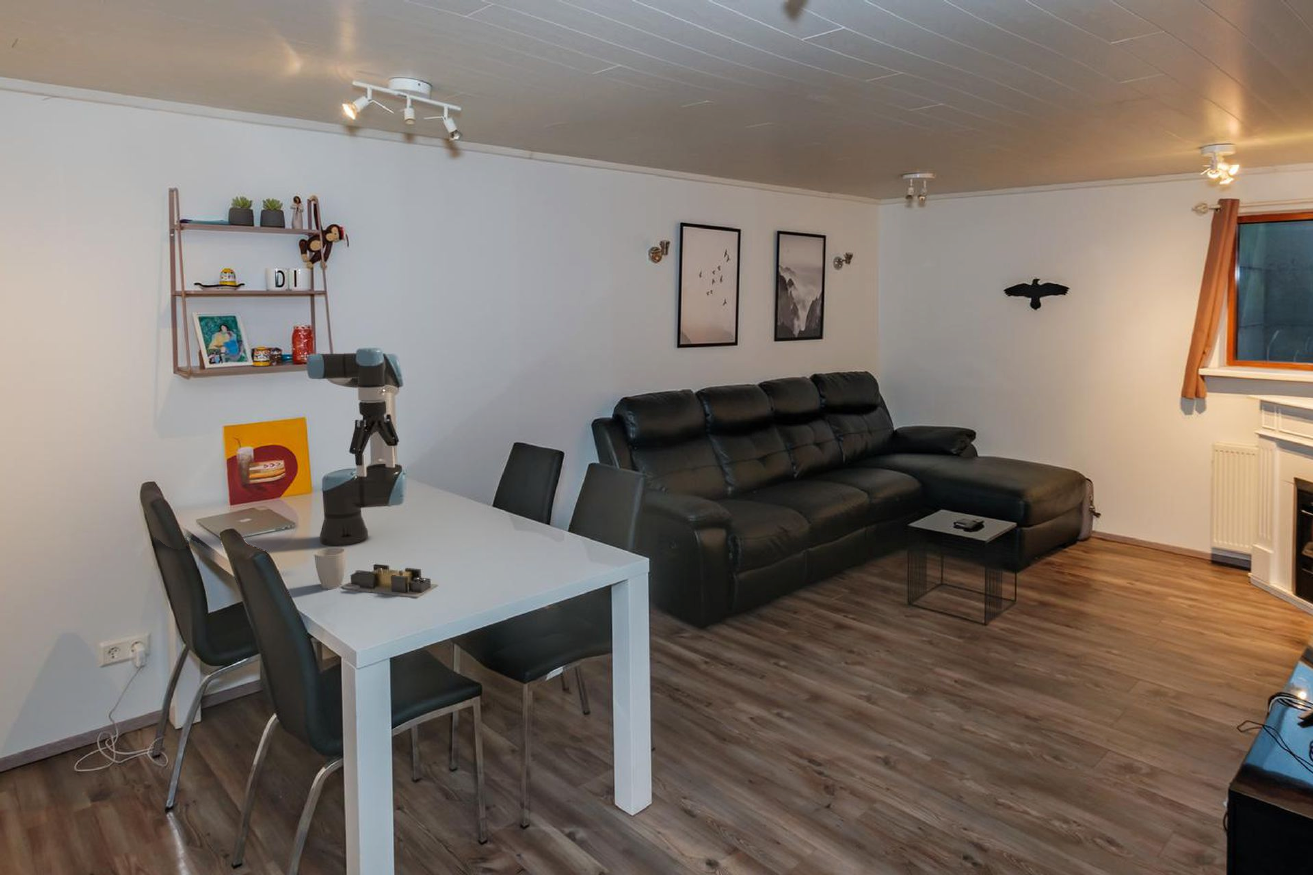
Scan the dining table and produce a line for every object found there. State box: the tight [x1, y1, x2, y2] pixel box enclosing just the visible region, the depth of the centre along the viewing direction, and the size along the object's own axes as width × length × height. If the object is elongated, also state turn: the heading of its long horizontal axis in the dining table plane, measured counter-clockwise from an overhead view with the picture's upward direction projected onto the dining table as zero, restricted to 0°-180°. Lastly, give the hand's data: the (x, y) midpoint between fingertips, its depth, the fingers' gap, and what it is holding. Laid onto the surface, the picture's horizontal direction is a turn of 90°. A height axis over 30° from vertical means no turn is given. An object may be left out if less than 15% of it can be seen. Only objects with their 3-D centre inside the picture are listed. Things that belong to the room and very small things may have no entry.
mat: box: [342, 582, 439, 599], centre depth 231 cm, size 24×10×1 cm, turn 72°
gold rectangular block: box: [371, 568, 412, 589], centre depth 231 cm, size 11×4×5 cm, turn 72°
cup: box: [313, 546, 346, 590], centre depth 232 cm, size 8×8×10 cm
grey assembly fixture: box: [350, 563, 432, 593], centre depth 231 cm, size 23×8×4 cm, turn 72°
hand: (376, 471), depth 247 cm, fingers open, 13 cm apart
